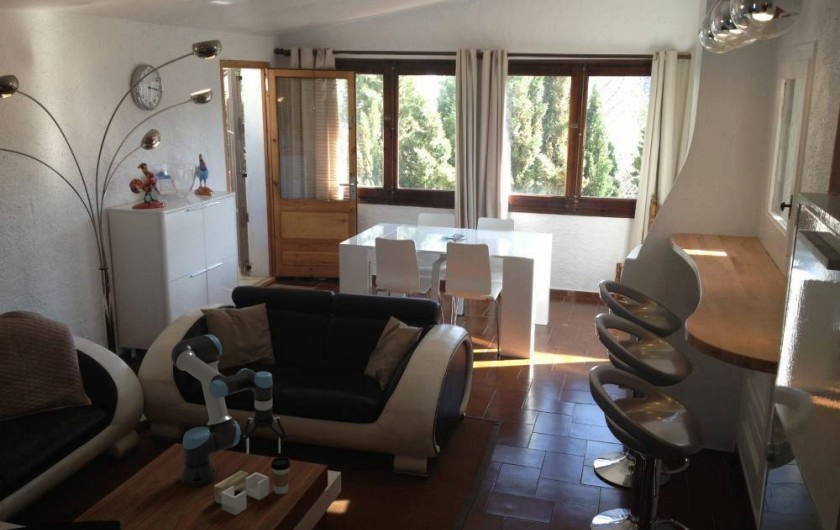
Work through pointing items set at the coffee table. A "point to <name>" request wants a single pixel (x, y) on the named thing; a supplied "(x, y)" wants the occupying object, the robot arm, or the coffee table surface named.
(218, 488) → the rail
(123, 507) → the coffee table surface
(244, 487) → the rest blocks
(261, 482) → the bracket pair
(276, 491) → the coffee cup
